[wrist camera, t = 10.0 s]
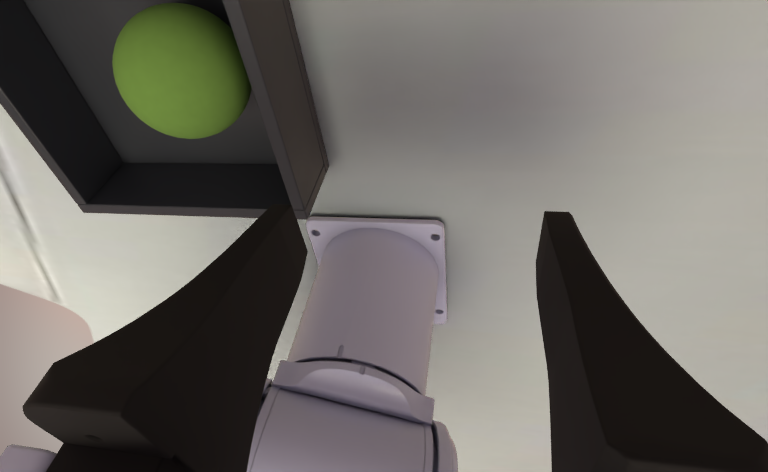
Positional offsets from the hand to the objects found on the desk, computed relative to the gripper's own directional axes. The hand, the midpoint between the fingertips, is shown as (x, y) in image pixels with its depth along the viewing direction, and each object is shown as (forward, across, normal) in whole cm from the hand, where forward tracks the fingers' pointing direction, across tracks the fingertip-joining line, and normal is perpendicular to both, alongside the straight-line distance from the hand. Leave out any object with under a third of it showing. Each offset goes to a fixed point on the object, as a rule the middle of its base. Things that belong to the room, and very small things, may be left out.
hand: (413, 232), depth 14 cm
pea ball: (+8, +12, -3) cm, 14 cm away
